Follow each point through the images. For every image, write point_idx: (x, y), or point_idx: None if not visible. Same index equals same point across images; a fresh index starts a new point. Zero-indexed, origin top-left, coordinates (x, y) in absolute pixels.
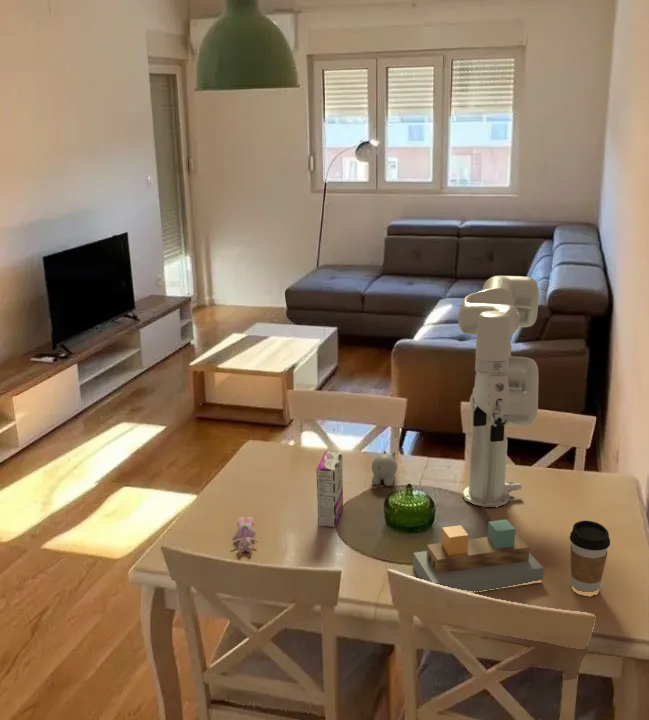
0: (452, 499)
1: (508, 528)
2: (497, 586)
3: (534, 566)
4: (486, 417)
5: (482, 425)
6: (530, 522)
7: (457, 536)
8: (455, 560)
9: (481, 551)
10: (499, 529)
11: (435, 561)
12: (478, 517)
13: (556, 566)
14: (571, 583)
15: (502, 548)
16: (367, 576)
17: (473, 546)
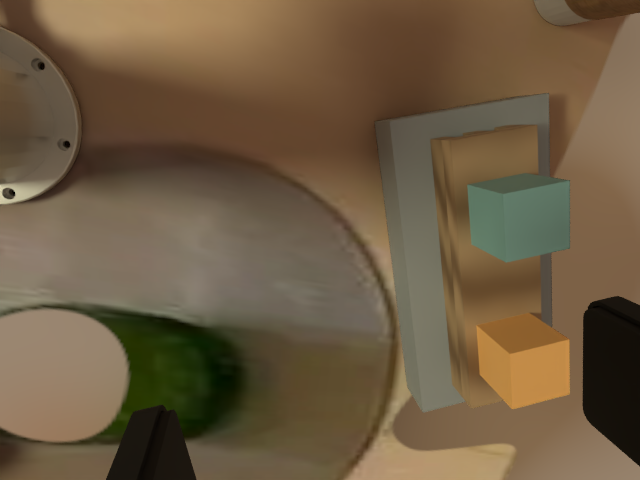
0: (15, 241)
1: (562, 204)
2: None
3: (537, 116)
4: (134, 477)
5: (185, 443)
6: (185, 6)
7: (568, 371)
8: None
9: (531, 274)
10: (560, 236)
11: None
12: (150, 180)
13: (451, 22)
14: (569, 23)
15: None
16: (425, 474)
17: (502, 291)
